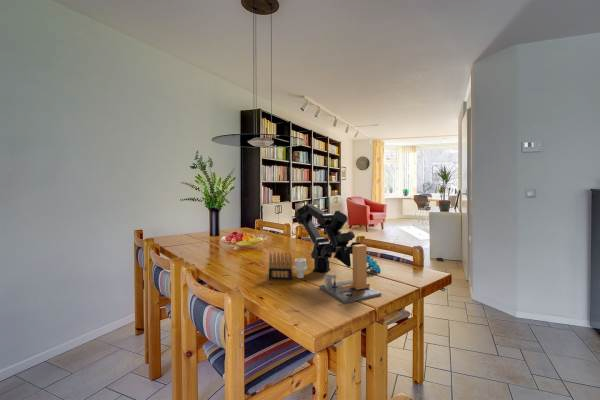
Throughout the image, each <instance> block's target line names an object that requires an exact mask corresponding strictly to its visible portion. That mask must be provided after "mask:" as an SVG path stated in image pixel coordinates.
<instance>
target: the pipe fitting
mask: <svg viewBox="0 0 600 400" xmlns="http://www.w3.org/2000/svg"><path fill="white" fill-rule="evenodd" d="M308 268H309V266H308V265H307V259H306V258H303V257H301V258H295V259H294V265H292V271H293V270H294V271H296V278H297V279H304V278H305V271H307V270H308Z"/></svg>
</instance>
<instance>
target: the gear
mask: <svg viewBox="0 0 600 400" xmlns="http://www.w3.org/2000/svg"><path fill="white" fill-rule="evenodd" d="M377 263H378V262H377V260H374V258H373V257H371V256H370V255H368V254H367V265H368V266H367V271H368V270H369V269H372V270H373V271H375V273H381V272H382V271H381V268H380V265H379V264H377Z"/></svg>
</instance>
